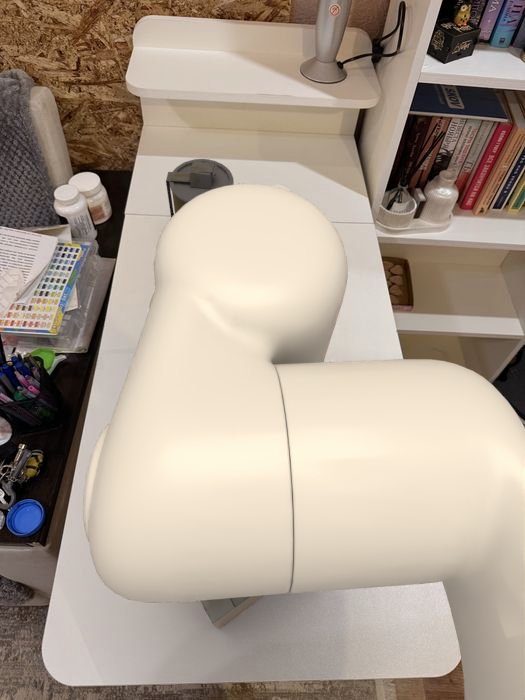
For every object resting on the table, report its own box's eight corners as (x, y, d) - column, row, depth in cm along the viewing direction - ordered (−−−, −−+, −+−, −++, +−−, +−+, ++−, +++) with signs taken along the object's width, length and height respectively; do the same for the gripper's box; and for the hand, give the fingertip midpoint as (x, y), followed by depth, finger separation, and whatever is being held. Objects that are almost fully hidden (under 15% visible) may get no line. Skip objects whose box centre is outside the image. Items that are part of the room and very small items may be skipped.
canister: (236, 233, 101) (236, 148, 83) (230, 274, 96) (230, 193, 78) (181, 228, 101) (170, 142, 83) (172, 269, 95) (159, 187, 78)
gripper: (117, 310, 31) (155, 422, 47) (277, 564, 24) (260, 597, 40) (222, 260, 34) (225, 383, 49) (395, 479, 27) (335, 542, 42)
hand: (241, 478), depth 44 cm, fingers closed on medicine bottle, 6 cm apart
